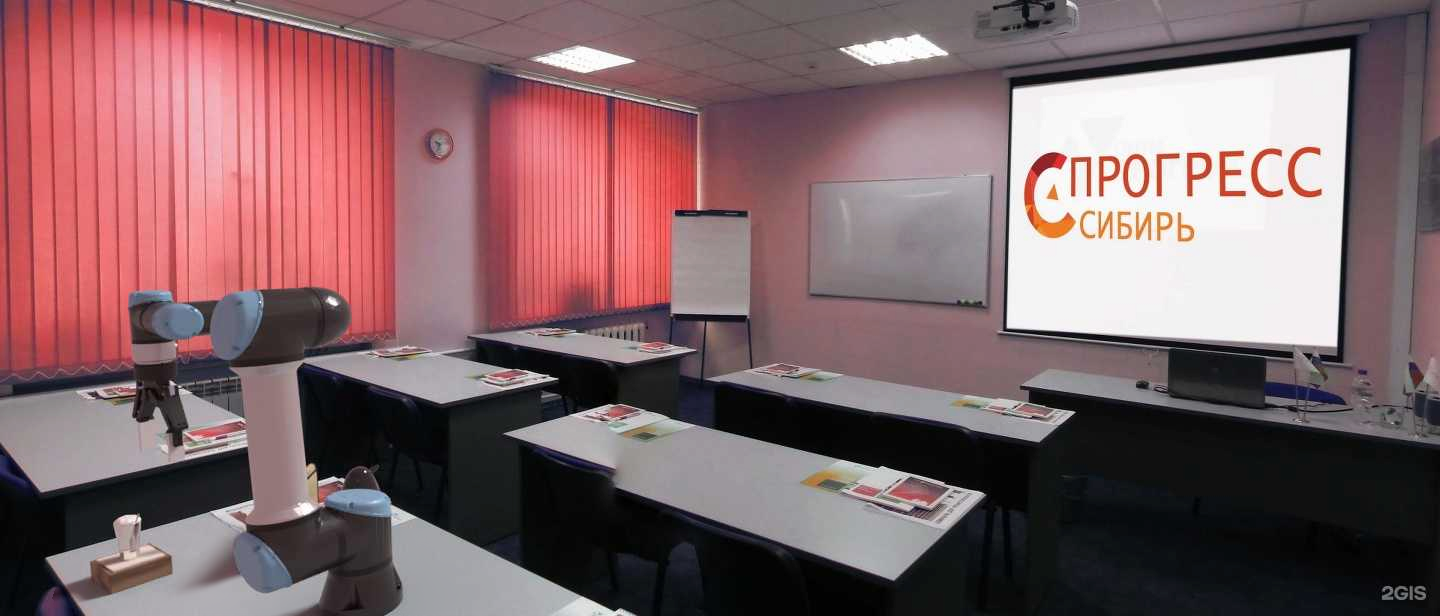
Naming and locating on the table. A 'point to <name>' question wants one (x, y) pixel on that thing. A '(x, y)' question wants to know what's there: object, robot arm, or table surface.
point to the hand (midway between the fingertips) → (162, 455)
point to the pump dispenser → (361, 479)
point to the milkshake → (128, 536)
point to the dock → (131, 569)
